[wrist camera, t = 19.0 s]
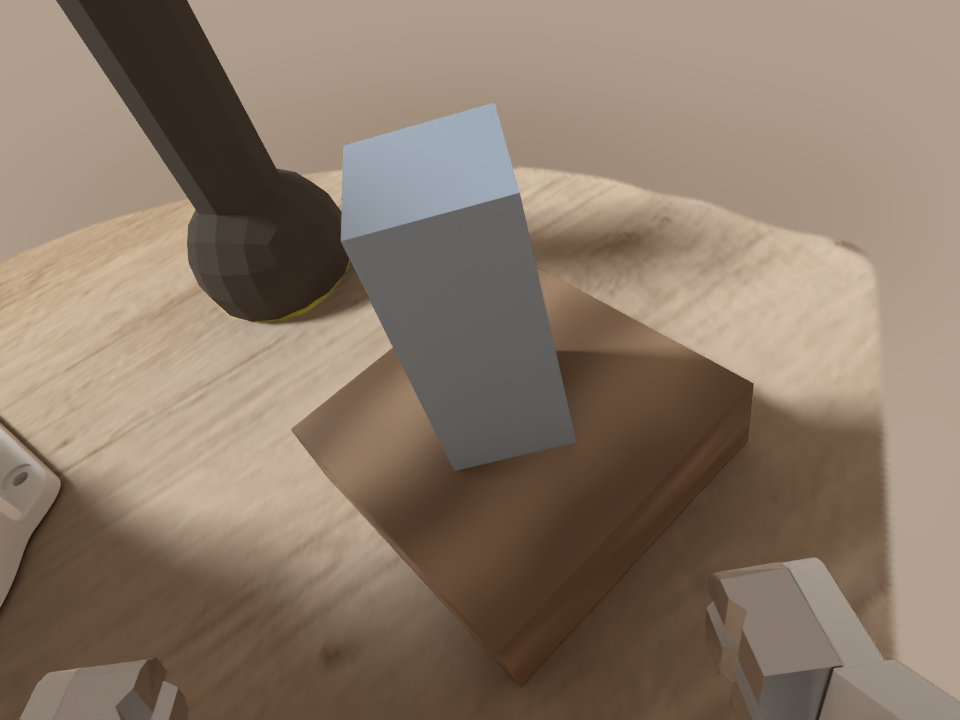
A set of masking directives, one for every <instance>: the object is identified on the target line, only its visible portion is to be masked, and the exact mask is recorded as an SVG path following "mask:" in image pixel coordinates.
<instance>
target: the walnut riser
mask: <svg viewBox="0 0 960 720" xmlns="http://www.w3.org/2000/svg"><path fill="white" fill-rule="evenodd" d="M537 271H538V276H539V280H540V284H541V289H542V293H543V298H544V302H545V306H546V311H547V315H548V319H549V324H550V328H551V333H552V337H553V341H554V346H555V350H556V355H557V359H558V363H559V368H560V372H561V376H562V381H563V385H564V390H565V394H566V398H567V403H568V407H569V412H570V416H571V420H572V425H573V429H574V433H575V438H576V443H572V444H567V445H563V446H559V447H555V448H550V449H546V450H542V451H538V452H533V453H529V454H525V455H521V456H516V457H512V458H508V459H504V460H499V461H495V462H491V463H487V464H482V465H478V466H474V467H470V468H465V469H461V470H457V471H454V470H453V468H452V466H451V464H450V462H449V460H448V458H447V456H446V453H445V451H444V449H443V447H442V445H441V443H440V441H439V439H438V437H437V435H436V433H435V431H434V429H433V427H432V425H431V423H430V421H429V419H428V417H427V415H426V413H425V411H424V409H423V407H422V405H421V403H420V401H419V399H418V397H417V395H416V393H415V391H414V389H413V387H412V385H411V383H410V381H409V379H408V377H407V375H406V372H405V370H404V368H403V366H402V364H401V362H400V360H399V358H398V356H397V354H396V352H395V350H394V348H392V349H391V350H389V351H388V352H387V353H386V354H384V355H383V356H382V357H381V358H379V359H378V360H377V361H376V362H374V363H373V364H372V365H371V366H369V367H368V368H367V369H366V370H364V371H363V372H362V373H361V374H359V375H358V376H357V377H356V378H354V379H353V380H352V381H351V382H349V383H348V384H347V385H346V386H344V387H343V388H342V389H341V390H339V391H338V392H337V393H336V394H334V395H333V396H332V397H331V398H329V399H328V400H327V401H326V402H324V403H323V404H322V405H321V406H319V407H318V408H317V409H316V410H315V411H313V412H312V413H311V414H310V415H308V416H307V417H306V418H305V419H303V420H302V421H301V422H300V423H298V424H297V425H296V426H295V427H293V428H292V429H291V430H292V432H293V433H294V434H295V436H296V437H297V438H298V440H299V441H300V442H301V443H302V445H303V446H304V447H305V449H306V450H307V451H308V453H309V454H310V455H311V457H312V458H313V459H314V460H315V462H316V463H317V464H318V466H319V467H320V468H321V470H322V471H323V472H324V473H325V475H326V476H327V477H328V478H329V479H330V480H331V481H332V482H333V484H334V485H335V486H336V487H337V488H338V489H339V490H340V491H341V492H342V493H343V494H344V495H345V497H346V498H347V499H348V500H349V501H350V502H351V503H352V504H353V505H354V506H355V507H356V509H357V510H358V511H359V512H360V513H361V514H362V515H363V516H364V517H365V518H366V519H367V520H368V522H369V523H370V524H371V525H372V526H373V527H374V528H375V529H376V530H377V531H378V532H379V533H380V535H381V536H382V537H383V538H384V539H385V540H386V541H387V542H388V543H389V544H390V545H391V547H392V548H393V549H394V550H395V551H396V552H397V553H398V554H399V555H400V556H401V557H402V558H403V560H404V561H405V562H406V563H407V564H408V565H409V566H410V567H411V568H412V569H413V570H414V571H415V573H416V574H417V575H418V576H419V577H420V578H421V579H422V580H423V581H424V582H425V583H426V584H427V586H428V587H429V588H430V589H431V590H432V591H433V592H434V593H435V594H436V595H437V596H438V598H439V599H440V600H441V601H442V602H443V603H444V604H445V605H446V606H447V607H448V608H449V609H450V611H451V612H452V613H453V614H454V615H455V616H456V617H457V618H458V619H459V620H460V621H461V622H462V624H463V625H464V626H465V627H466V628H467V629H468V630H469V631H470V632H471V633H472V634H473V635H474V637H475V638H476V639H477V640H478V641H479V642H480V643H481V644H482V645H483V646H484V647H485V649H486V650H487V651H488V652H489V653H490V654H491V655H492V656H493V657H494V658H495V659H496V660H497V662H498V663H499V664H500V665H501V666H502V667H503V668H504V669H505V670H506V671H507V672H508V673H509V675H510V676H511V677H512V678H513V679H514V680H515V681H516V682H517V683H518V684H519V685H520V687H521V686H522V685H523V684H524V683H525V682H526V681H527V680H528V679H529V677H530V676H531V675H532V674H533V673H534V672H535V671H536V670H537V669H538V668H539V667H540V665H541V664H542V663H543V662H544V661H545V660H546V659H547V658H548V657H549V656H550V655H551V654H552V652H553V651H554V650H555V649H556V648H557V647H558V646H559V645H560V644H561V643H562V642H563V640H564V639H565V638H566V637H567V636H568V635H569V634H570V633H571V632H572V631H573V630H574V628H575V627H576V626H577V625H578V624H579V623H580V622H581V621H582V620H583V619H584V618H585V617H586V615H587V614H588V613H589V612H590V611H591V610H592V609H593V608H594V607H595V606H596V605H597V603H598V602H599V601H600V600H601V599H602V598H603V597H604V596H605V595H606V594H607V593H608V591H609V590H610V589H611V588H612V587H613V586H614V585H615V584H616V583H617V582H618V581H619V580H620V578H621V577H622V576H623V575H624V574H625V573H626V572H627V571H628V570H629V569H630V568H631V566H632V565H633V564H634V563H635V562H636V561H637V560H638V559H639V558H640V557H641V556H642V554H643V553H644V552H645V551H646V550H647V549H648V548H649V547H650V546H651V545H652V544H653V543H654V541H655V540H656V539H657V538H658V537H659V536H660V535H661V534H662V533H663V532H664V531H665V529H666V528H667V527H668V526H669V525H670V524H671V523H672V522H673V521H674V520H675V519H676V517H677V516H678V515H679V514H680V513H681V512H682V511H683V510H684V509H685V508H686V507H687V505H688V504H689V503H690V502H691V501H692V500H693V499H694V498H695V497H696V496H697V495H698V494H699V492H700V491H701V490H702V489H703V488H704V487H705V486H706V485H707V484H708V483H709V482H710V480H711V479H712V478H713V477H714V476H715V475H716V474H717V473H718V472H719V471H720V470H721V468H722V467H723V466H724V465H725V464H726V463H727V462H728V461H729V460H730V459H731V458H732V457H733V455H734V454H735V453H736V452H737V451H738V450H739V449H740V448H741V447H742V446H743V445H744V443H745V442H746V441H747V440H748V432H749V422H750V413H751V403H752V394H753V384H754V383H752V382H750V381H748V380H746V379H744V378H742V377H740V376H739V375H737V374H735V373H733V372H731V371H729V370H727V369H726V368H724V367H722V366H720V365H718V364H716V363H714V362H713V361H711V360H709V359H707V358H705V357H703V356H701V355H700V354H698V353H696V352H694V351H692V350H690V349H688V348H686V347H685V346H683V345H681V344H679V343H677V342H675V341H673V340H672V339H670V338H668V337H666V336H664V335H662V334H660V333H659V332H657V331H655V330H653V329H651V328H649V327H647V326H645V325H644V324H642V323H640V322H638V321H636V320H634V319H632V318H631V317H629V316H627V315H625V314H623V313H621V312H619V311H618V310H616V309H614V308H612V307H610V306H608V305H606V304H605V303H603V302H601V301H599V300H597V299H595V298H593V297H591V296H590V295H588V294H586V293H584V292H582V291H580V290H578V289H577V288H575V287H573V286H571V285H569V284H567V283H565V282H564V281H562V280H560V279H558V278H556V277H554V276H552V275H550V274H549V273H547V272H545V271H543V270H541V269H539V268H537Z"/></svg>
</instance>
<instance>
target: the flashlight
mask: <svg viewBox="0 0 960 720" xmlns="http://www.w3.org/2000/svg"><path fill="white" fill-rule="evenodd" d="M56 1H57V2H58V4H59V5H60V7H61V8H62V10H63V11H64V13H65V14H66V16H67V17H68V19H69V20H70V22H71V23H72V25H73V26H74V28H75V29H76V30H77V32H78V34H79V35H80V37H81V38H82V40H83V41H84V43H85V44H86V46H87V47H88V49H89V50H90V52H91V53H92V55H93V56H94V58H95V59H96V61H97V62H98V63H99V65H100V66H101V68H102V70H103V71H104V73H105V74H106V76H107V77H108V79H109V80H110V82H111V83H112V85H113V86H114V87H115V89H116V91H117V92H118V94H119V95H120V96H121V98H122V100H123V101H124V103H125V104H126V106H127V107H128V109H129V110H130V112H131V113H132V115H133V116H134V117H135V119H136V121H137V122H138V124H139V125H140V127H141V128H142V130H143V131H144V133H145V134H146V136H147V137H148V138H149V140H150V141H151V143H152V145H153V146H154V147H155V149H156V151H157V152H158V153H159V155H160V156H161V158H162V160H163V161H164V163H165V164H166V166H167V167H168V169H169V170H170V172H171V173H172V174H173V176H174V178H175V179H176V181H177V182H178V183H179V185H180V186H181V188H182V190H183V191H184V193H185V194H186V196H187V197H188V199H189V200H190V202H191V203H192V205H193V206H194V208H195V209H196V210H195V212H194V214H193V216H192V218H191V220H190V223H189V225H188V239H187V247H188V260H189V265H190V267H191V269H192V271H193V273H194V275H195V278H196V280H197V282H198V284H199V286H200V287H201V288H202V289H203V290H204V291H205V292H206V293H207V294H208V295H209V296H210V297H211V298H212V299H213V300H214V301H215V302H216V303H217V304H218V305H219V306H220V307H222V308H223V309H224V310H225V311H226V312H227V313H228V314H229V315H231V316H234V317H238V318H241V319H245V320H248V321H252V322H253V321H261V320H270V319H278V318H281V317H283V316H286V315H288V314H290V313H293V312H295V311H298V310H300V309H303V308H305V307H306V306H308V305H309V304H311V303H312V302H314V301H316V300H317V299H319V298H320V297H322V296H323V295H325V294H326V293H328V292H329V291H330V289H331V288H332V287H333V286H334V285H335V284H336V283H337V281H338V280H339V279H340V278H341V277H342V276H343V275H344V273H345V271H346V268H347V265H348V261H349V257H348V255H347V253H346V251H345V249H344V247H343V245H342V243H341V215H342V212H341V211H340V209H339V208H338V207H337V205H336V204H335V203H334V201H333V200H332V198H331V197H330V196H329V194H328V193H327V192H325V191H324V190H322V189H321V188H319V187H318V186H317V185H315V184H314V183H312V182H311V181H309V180H307V179H306V178H304V177H302V176H301V175H299V174H297V173H296V172H291V171H286V170H281V169H276V167H275V165H274V164H273V162H272V160H271V158H270V156H269V154H268V152H267V150H266V148H265V147H264V145H263V143H262V141H261V139H260V137H259V136H258V134H257V132H256V130H255V128H254V126H253V124H252V122H251V120H250V118H249V117H248V115H247V113H246V111H245V109H244V107H243V105H242V103H241V102H240V100H239V98H238V96H237V94H236V92H235V90H234V88H233V86H232V85H231V83H230V81H229V79H228V77H227V75H226V73H225V71H224V69H223V67H222V66H221V64H220V62H219V60H218V58H217V56H216V54H215V52H214V50H213V49H212V47H211V45H210V43H209V41H208V39H207V37H206V35H205V34H204V32H203V30H202V28H201V26H200V24H199V22H198V20H197V18H196V17H195V15H194V13H193V11H192V9H191V7H190V6H189V3H188V1H187V0H56Z"/></svg>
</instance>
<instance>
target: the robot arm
mask: <svg viewBox="0 0 960 720" xmlns="http://www.w3.org/2000/svg"><path fill="white" fill-rule="evenodd" d="M60 485H61V483H60V479H59V478H58V476H57V475H55V474H54V473H53V472H52V471H51V470H50V469H49V468H48V467H47V466H46V465H45V464H44V463H43V462H42V461H41V460H39V459H38V458H37V457H36V456H35V455H34V454H33V453H32V452H31V451H30V450H29V449H28V448H27V447H26V446H25V445H23V444H22V443H21V442H20V441H19V440H18V439H17V438H16V437H15V436H14V435H13V434H12V433H11V432H10V431H9V430H7V429H6V428H5V427H4V426H3V425H2V424H1V423H0V607H1V605H2V603H3V601H4V599H5V597H6V595H7V594H8V591H9V589H10V587H11V585H12V583H13V580H14V578H15V575H16V573H17V570H18V567H19V564H20V561H21V558H22V556H23V553H24V550H25V547H26V545H27V542H28V540H29V538H30V536H31V534H32V532H33V531H34V530H35V528H36V527H37V526H38V524H39V523H40V521H41V520H42V518H43V517H44V516H45V514H46V513H47V511H48V510H49V508H50V507H51V505H52V504H53V502H54V500H55V498H56V497H57V495H58V492H59V490H60ZM708 590H709V592H710V594H711V597H712V599H713V602H712V603H711V604H710V605H709V606H707V607H706V629H707V635H708V641H709V644H710V648H711V651H712V655H713V657H714V660H715V663H716V665H717V668H718V670H719V673H720V674H722V675H723V676H724V677H726V678H727V679H728V680H729V681H731V682H732V683H733V684H734V685H733V693H732V701H731V703H732V706H733V708H734V711H735V713H736V716H737V718H738V720H960V702H959V701H958V700H956V699H955V698H953V697H952V696H950V695H949V694H947V693H946V692H944V691H943V690H941V689H940V688H938V687H937V686H935V685H934V684H932V683H931V682H929V681H928V680H926V679H925V678H923V677H922V676H920V675H919V674H917V673H916V672H914V671H913V670H911V669H910V668H908V667H907V666H905V665H904V664H902V663H901V662H899V661H898V660H896V659H894V660H885V659H884V658H883V656H882V655H881V653H880V652H879V650H878V648H877V647H876V645H875V644H874V642H873V640H872V639H871V637H870V636H869V634H868V633H867V631H866V629H865V628H864V626H863V625H862V623H861V621H860V620H859V618H858V617H857V615H856V613H855V612H854V610H853V609H852V607H851V606H850V604H849V602H848V601H847V599H846V598H845V596H844V594H843V593H842V591H841V590H840V588H839V586H838V585H837V583H836V582H835V580H834V579H833V577H832V575H831V574H830V572H829V571H828V569H827V567H826V566H825V564H824V563H823V562H821V561H820V560H819V559H818V558H813V557H811V558H805V559H799V560H794V561H788V562H782V563H779V562H774V563H768V564H762V565H756V566H751V567H745V568H739V569H733V570H727V571H721V572H715V573H712V575H711V576H710V577H709V585H708ZM166 671H167V670H166V669H165V668H164V666H163V665H162V664H161V662H160V661H159V660H158V659H157V658H151V659H144V660H137V661H129V662H122V663H115V664H108V665H100V666H93V667H83V668H76V669H70V670H63V671H56V672H50V673H47V674H46V675H45V676H44V677H43V678H42V679H41V680H40V681H39V682H38V683H37V685H36V686H35V688H34V690H33V692H32V694H31V696H30V699H29V701H28V703H27V705H26V707H25V709H24V711H23V713H22V715H21V717H20V719H19V720H188V708H187V705H186V701H185V697H184V695H183V694H182V692H181V691H180V689H179V688H178V687H176V686H174V685H172V684H170V683H167V682H165V681H163V680H164V677H165V674H166Z"/></svg>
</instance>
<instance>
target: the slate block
mask: <svg viewBox="0 0 960 720" xmlns="http://www.w3.org/2000/svg"><path fill="white" fill-rule="evenodd" d="M341 243H342V245H343V247H344V249H345V251H346V253H347V255H348V257H349V259H350V261H351V263H352V265H353V267H354V269H355V271H356V273H357V275H358V277H359V279H360V281H361V283H362V285H363V287H364V289H365V292H366V294H367V296H368V298H369V300H370V302H371V304H372V306H373V308H374V310H375V312H376V314H377V316H378V318H379V320H380V322H381V324H382V326H383V328H384V330H385V332H386V334H387V336H388V338H389V340H390V342H391V344H392V346H393V348H394V350H395V352H396V354H397V356H398V358H399V360H400V362H401V364H402V366H403V368H404V370H405V372H406V375H407V377H408V379H409V381H410V383H411V385H412V387H413V389H414V391H415V393H416V395H417V397H418V399H419V401H420V403H421V405H422V407H423V409H424V411H425V413H426V415H427V417H428V419H429V421H430V423H431V425H432V427H433V429H434V431H435V433H436V435H437V437H438V439H439V441H440V443H441V445H442V447H443V449H444V451H445V453H446V456H447V458H448V460H449V462H450V464H451V466H452V468H453V470H454V471H457V470H461V469H465V468H470V467H474V466H478V465H482V464H487V463H491V462H495V461H499V460H504V459H508V458H512V457H516V456H521V455H525V454H529V453H533V452H538V451H542V450H546V449H550V448H555V447H559V446H563V445H567V444H572V443H576V438H575V433H574V429H573V425H572V420H571V416H570V412H569V407H568V403H567V398H566V394H565V390H564V385H563V381H562V376H561V372H560V368H559V363H558V359H557V355H556V350H555V346H554V341H553V337H552V333H551V328H550V324H549V319H548V315H547V311H546V306H545V302H544V298H543V293H542V289H541V284H540V280H539V276H538V271H537V267H536V262H535V258H534V254H533V249H532V245H531V241H530V236H529V232H528V227H527V223H526V219H525V214H524V210H523V205H522V201H521V197H520V192H519V189H518V185H517V182H516V178H515V174H514V171H513V167H512V164H511V160H510V157H509V153H508V149H507V146H506V142H505V139H504V135H503V132H502V128H501V125H500V121H499V117H498V114H497V110H496V106H495V103H492V104H488V105H485V106H481V107H478V108H474V109H470V110H467V111H464V112H460V113H456V114H453V115H449V116H446V117H443V118H439V119H436V120H432V121H428V122H425V123H421V124H418V125H414V126H411V127H407V128H404V129H400V130H397V131H394V132H390V133H386V134H383V135H379V136H376V137H373V138H369V139H365V140H362V141H358V142H355V143H352V144H348V145H344V148H343V180H342V215H341Z"/></svg>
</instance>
